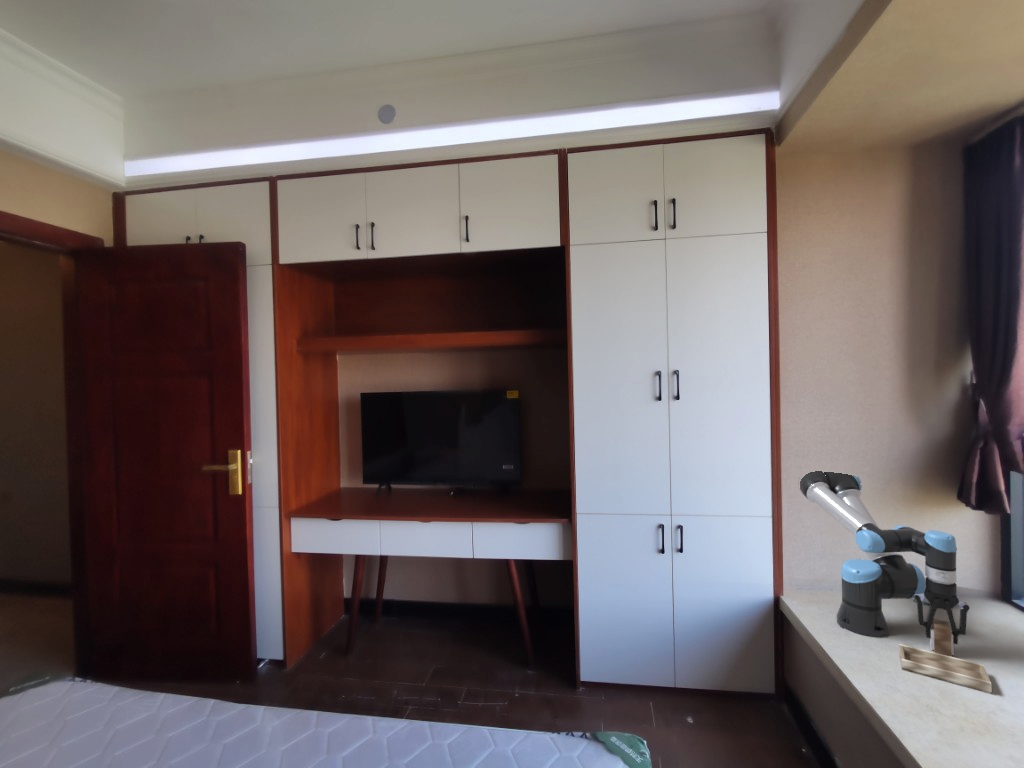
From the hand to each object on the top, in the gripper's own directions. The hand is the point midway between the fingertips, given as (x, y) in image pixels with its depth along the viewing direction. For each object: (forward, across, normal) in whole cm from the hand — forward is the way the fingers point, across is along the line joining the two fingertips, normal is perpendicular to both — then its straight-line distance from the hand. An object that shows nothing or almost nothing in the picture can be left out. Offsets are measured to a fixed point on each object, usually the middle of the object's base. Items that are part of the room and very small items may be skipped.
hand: (941, 650), depth 152 cm
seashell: (-1, +8, +41) cm, 42 cm away
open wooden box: (0, -1, -14) cm, 14 cm away
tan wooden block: (0, 0, 0) cm, 0 cm away
